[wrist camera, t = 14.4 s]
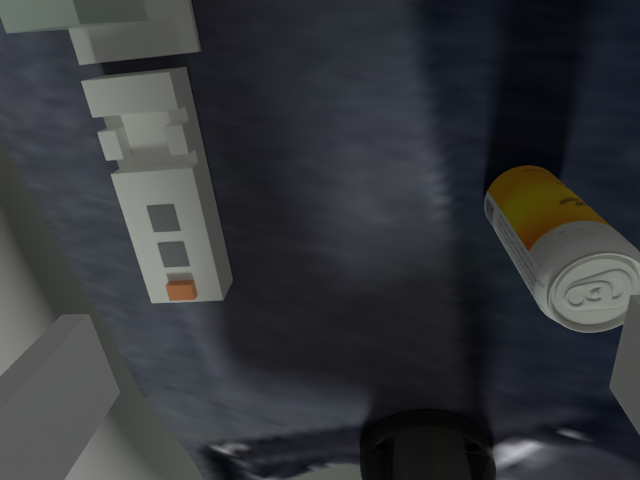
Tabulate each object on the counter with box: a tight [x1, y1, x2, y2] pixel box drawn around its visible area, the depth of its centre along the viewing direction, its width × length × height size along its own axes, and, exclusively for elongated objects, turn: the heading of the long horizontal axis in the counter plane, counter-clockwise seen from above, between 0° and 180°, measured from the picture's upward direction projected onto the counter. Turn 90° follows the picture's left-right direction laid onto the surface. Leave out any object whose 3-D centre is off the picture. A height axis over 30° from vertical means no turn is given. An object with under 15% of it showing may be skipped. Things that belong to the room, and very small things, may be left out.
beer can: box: [484, 165, 640, 332], centre depth 32 cm, size 6×6×15 cm
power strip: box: [81, 67, 233, 303], centre depth 40 cm, size 20×7×4 cm, turn 6°
